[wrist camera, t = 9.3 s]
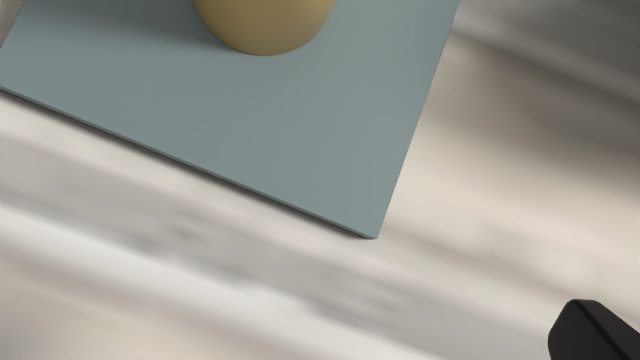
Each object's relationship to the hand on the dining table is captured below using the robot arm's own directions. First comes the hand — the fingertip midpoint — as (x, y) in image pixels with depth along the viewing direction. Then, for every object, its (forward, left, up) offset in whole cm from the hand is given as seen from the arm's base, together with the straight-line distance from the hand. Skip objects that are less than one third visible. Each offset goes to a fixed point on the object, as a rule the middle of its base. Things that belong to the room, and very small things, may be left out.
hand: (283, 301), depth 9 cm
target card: (+10, +2, -9) cm, 14 cm away
